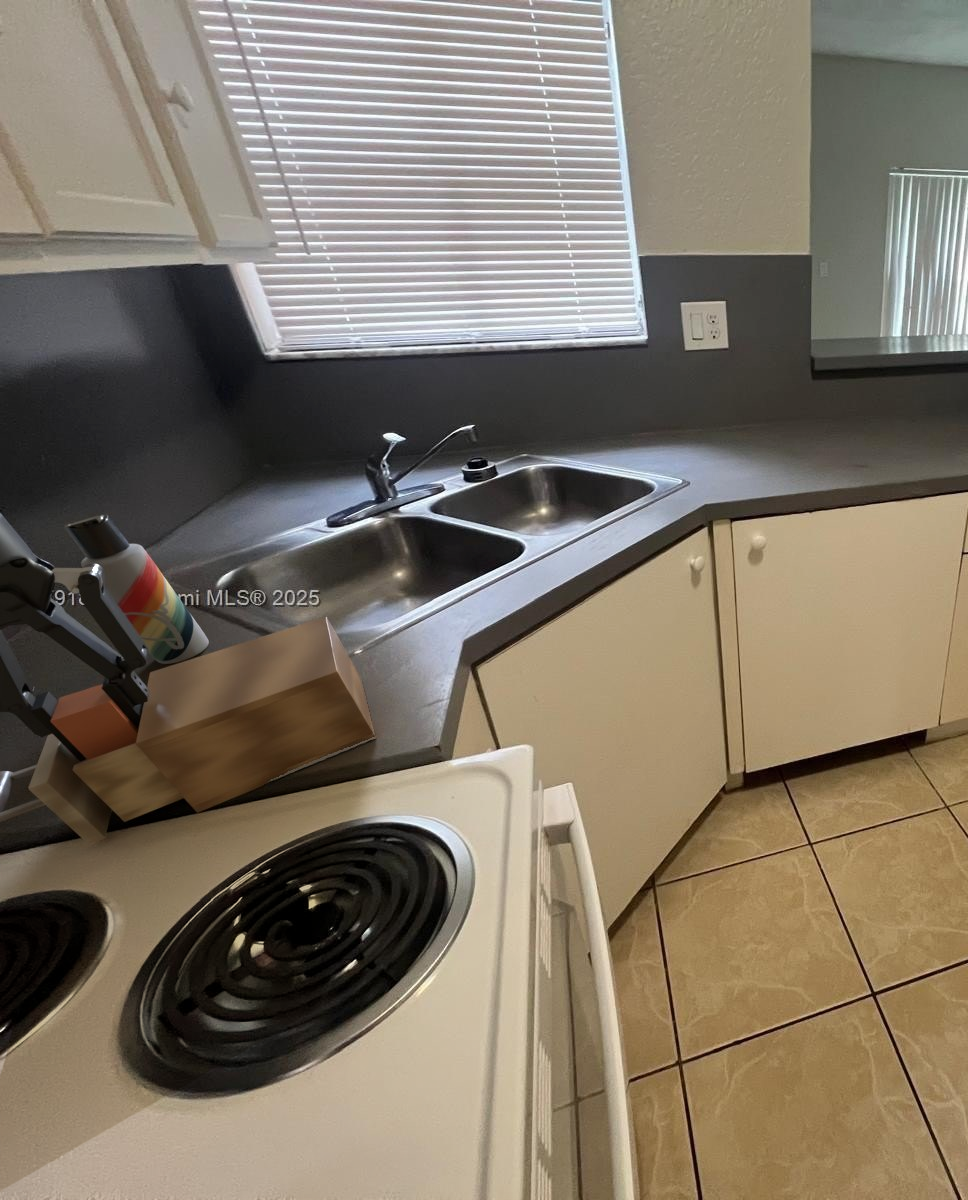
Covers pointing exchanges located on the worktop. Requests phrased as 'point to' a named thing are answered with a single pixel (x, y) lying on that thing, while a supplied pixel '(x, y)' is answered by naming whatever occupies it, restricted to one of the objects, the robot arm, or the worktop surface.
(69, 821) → the drawer
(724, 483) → the worktop surface
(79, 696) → the block
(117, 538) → the lotion bottle
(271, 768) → the cabinet
